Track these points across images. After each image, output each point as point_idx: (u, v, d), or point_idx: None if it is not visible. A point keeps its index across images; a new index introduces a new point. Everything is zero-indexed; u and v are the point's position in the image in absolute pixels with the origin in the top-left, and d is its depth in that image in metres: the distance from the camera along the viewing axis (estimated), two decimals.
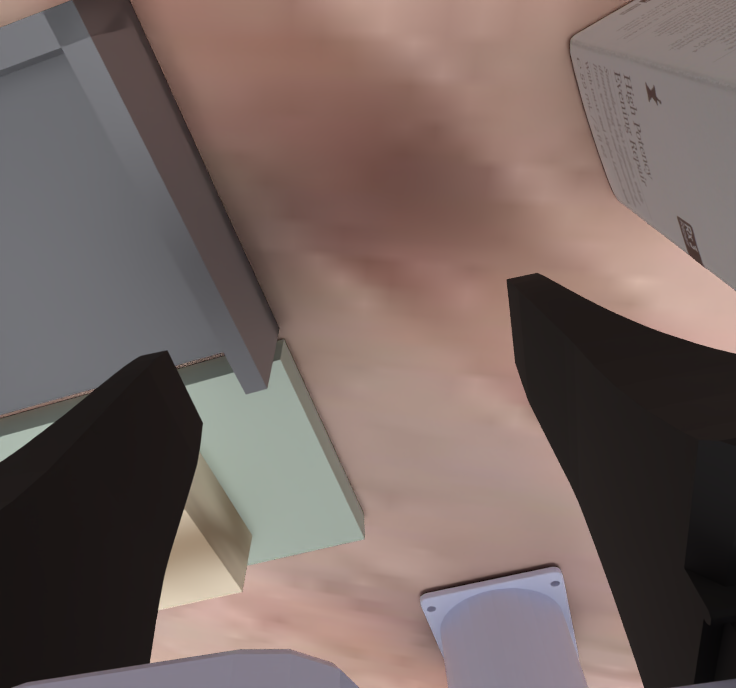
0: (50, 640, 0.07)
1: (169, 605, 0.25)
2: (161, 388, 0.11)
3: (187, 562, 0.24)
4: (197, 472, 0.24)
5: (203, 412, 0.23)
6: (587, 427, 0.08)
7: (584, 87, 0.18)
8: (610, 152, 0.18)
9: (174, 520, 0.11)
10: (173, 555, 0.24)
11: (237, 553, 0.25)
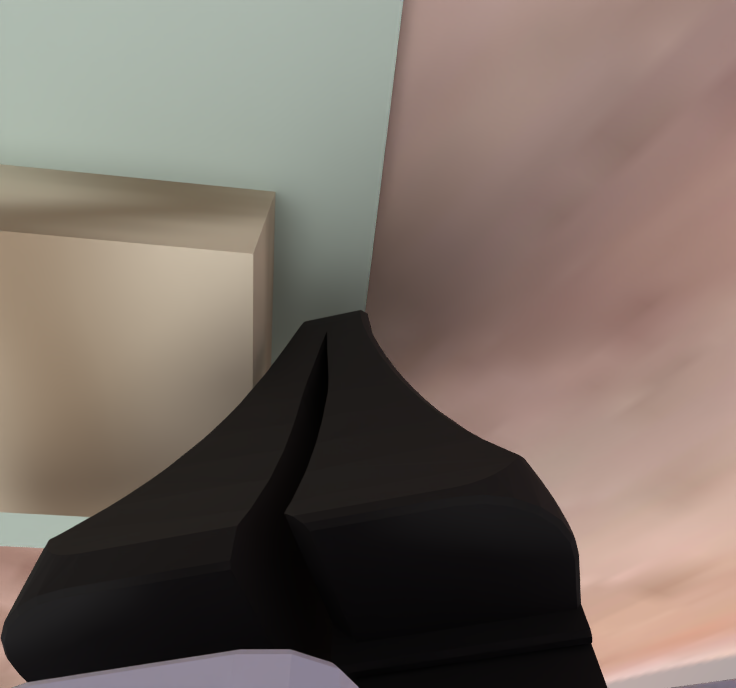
0: (317, 597, 0.07)
1: None
2: None
3: (88, 316, 0.09)
4: None
5: None
6: None
7: None
8: None
9: None
10: (56, 332, 0.09)
11: (200, 218, 0.10)
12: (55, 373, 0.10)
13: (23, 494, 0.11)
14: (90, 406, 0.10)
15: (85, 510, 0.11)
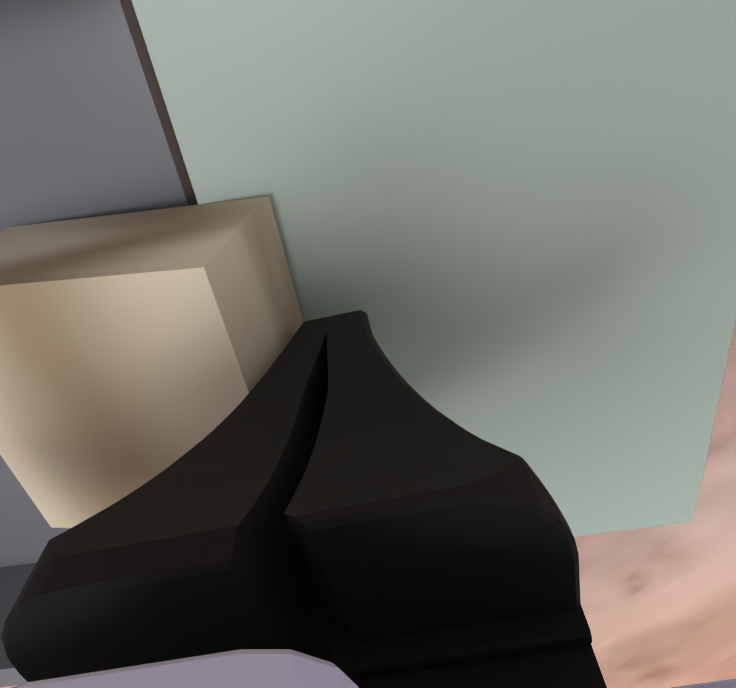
0: (317, 597, 0.07)
1: None
2: None
3: (91, 349, 0.10)
4: (0, 242, 0.11)
5: (261, 154, 0.11)
6: None
7: None
8: None
9: None
10: (73, 367, 0.10)
11: (178, 239, 0.10)
12: (87, 404, 0.10)
13: None
14: (123, 430, 0.11)
15: None
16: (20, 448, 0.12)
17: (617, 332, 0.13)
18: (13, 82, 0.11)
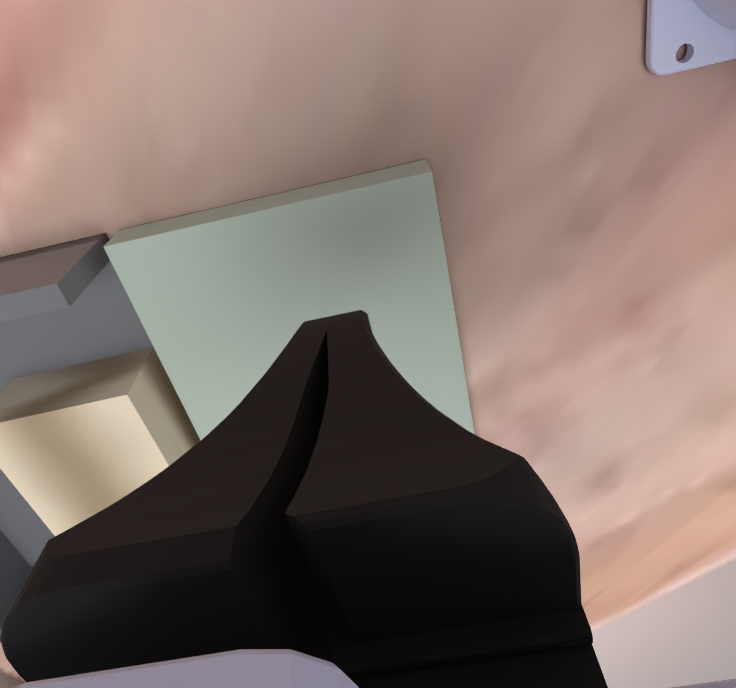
0: (317, 597, 0.07)
1: (164, 466, 0.21)
2: None
3: (77, 437, 0.21)
4: (13, 391, 0.22)
5: (190, 336, 0.21)
6: None
7: None
8: None
9: None
10: (68, 447, 0.21)
11: (111, 379, 0.21)
12: (75, 464, 0.21)
13: None
14: (96, 474, 0.22)
15: None
16: (39, 495, 0.22)
17: None
18: None
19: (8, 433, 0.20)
